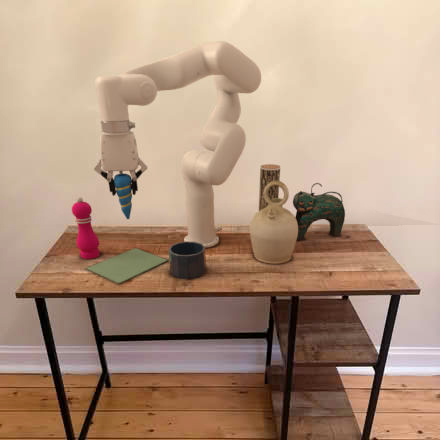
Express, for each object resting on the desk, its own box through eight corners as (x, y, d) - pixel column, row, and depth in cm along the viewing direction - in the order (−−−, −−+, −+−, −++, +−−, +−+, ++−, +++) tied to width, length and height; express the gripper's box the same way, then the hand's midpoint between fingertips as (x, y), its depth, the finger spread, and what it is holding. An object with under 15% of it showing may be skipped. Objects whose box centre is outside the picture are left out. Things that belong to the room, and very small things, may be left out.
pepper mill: (95, 260, 133) (84, 201, 123) (75, 259, 134) (62, 200, 124) (104, 251, 139) (95, 194, 129) (85, 250, 140) (74, 193, 130)
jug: (263, 243, 144) (266, 172, 131) (303, 253, 136) (311, 179, 123) (240, 258, 133) (241, 182, 120) (282, 270, 125) (288, 190, 113)
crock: (187, 260, 132) (186, 238, 129) (212, 269, 127) (212, 247, 123) (163, 271, 125) (161, 249, 122) (189, 282, 119) (187, 259, 116)
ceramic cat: (293, 242, 144) (298, 186, 134) (286, 235, 150) (291, 181, 140) (344, 237, 148) (352, 182, 138) (335, 230, 154) (343, 177, 144)
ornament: (139, 219, 122) (134, 168, 115) (125, 223, 119) (119, 171, 111) (129, 215, 125) (123, 165, 118) (115, 219, 122) (108, 168, 114)
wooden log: (277, 232, 153) (282, 165, 140) (273, 239, 147) (278, 169, 135) (260, 230, 155) (263, 163, 142) (255, 237, 149) (258, 167, 137)
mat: (135, 248, 141) (135, 247, 141) (167, 261, 132) (167, 259, 132) (86, 269, 127) (86, 268, 127) (119, 284, 119) (119, 282, 118)
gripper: (148, 125, 113) (154, 189, 122) (86, 126, 112) (96, 191, 121) (147, 128, 107) (153, 196, 116) (81, 130, 105) (92, 198, 114)
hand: (124, 193), depth 118 cm, fingers closed on ornament, 5 cm apart
